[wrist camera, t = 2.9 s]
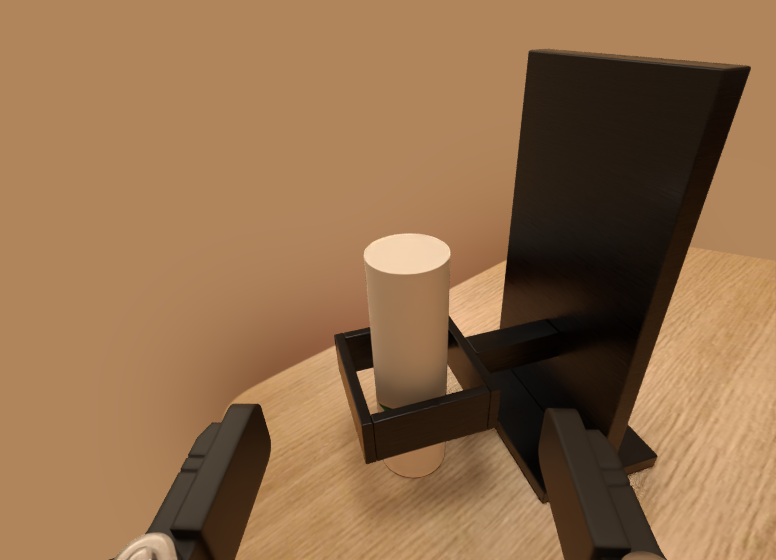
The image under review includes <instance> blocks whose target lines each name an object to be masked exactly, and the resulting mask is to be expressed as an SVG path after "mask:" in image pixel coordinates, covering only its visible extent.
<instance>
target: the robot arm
mask: <svg viewBox="0 0 776 560" xmlns="http://www.w3.org/2000/svg"><path fill="white" fill-rule="evenodd" d="M270 452H271V440H270V435H269V432H268V429H267V425H266V422H265V418H264V415H263V412H262V408H261V406H260V405H259V404H232V405H231V406H230V407H229V408H228V410H227V412H226V414H225V416H224V418H223V420H222V422H221V423H211V424H210V425H209V426H208V427H207V428H206V429H205V430H204V431H203V433H201V434H200V435H199V436H198V437H197V439H196V441H195V443H194V445H193V447H192V448H191V451H190V452H189V454H188V458H186V460H185V462H184V464H183V465H182V467H181V472H180V473H178V475H177V477H176V479H175V481H174V483H173V484H172V486H171V488H170V490H169V492H168V494H167V496H166V497H165V499H164V502H163V503H162V505H161V507H160V509H159V511H158V513H157V515H156V516H155V518H154V520H153V522H152V524H151V526H150V527H149V529H148V531H147V532H146V533H145V535H143V536H140V537H138V538H136V539H135V540H133V541H132V542H130V543H129V544H128V545H126V546H125V547H124V548H123V549H122V550H121V551H120V552H119V554H118V555H117V556H116V557H115V558H113V559H110V560H235V557H236V554H237V552H238V549H239V546H240V543H241V540H242V537H243V534H244V531H245V528H246V525H247V522H248V520H249V517H250V514H251V511H252V508H253V505H254V502H255V499H256V496H257V493H258V490H259V487H260V485H261V482H262V479H263V476H264V473H265V470H266V467H267V464H268V461H269V457H270ZM539 462H540V467H541V472H542V475H543V479H544V483H545V487H546V491H547V494H548V498H549V502H550V506H551V510H552V514H553V517H554V521H555V525H556V529H557V533H558V536H559V540H560V544H561V548H562V552H563V556H564V559H565V560H667V559H666V558H665V556H664V555H663V553H662V552H661V550H660V548H659V546H658V544H657V541H656V539H655V537H654V535H653V533H652V530H651V528H650V526H649V524H648V521H647V519H646V517H645V515H644V512H643V510H642V508H641V506H640V503H639V501H638V499H637V497H636V494H635V492H634V490H633V488H632V486H630V481H629V479H628V476H627V474H626V472H625V470H623V465H622V463H621V461H620V458H619V456H618V454H617V452H616V449H615V447H614V446H613V445H612V444H611V443H610V441H609V440H608V439H607V438H606V437H605V436H604V435H603V434H602V433H601V432H600V431H599V430H585V428H584V425H583V422H582V420H581V417H580V415H579V413H578V411H577V410H576V409H557V408H547V409H546V411H545V414H544V420H543V425H542V430H541V436H540V441H539Z"/></svg>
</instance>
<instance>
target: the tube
mask: <svg viewBox="0 0 776 560" xmlns="http://www.w3.org/2000/svg"><path fill="white" fill-rule="evenodd" d="M364 262H365V273H366V285H367V297H368V307H369V319H370V331H371V342H372V353H373V364H374V375H375V386H376V397H377V408H378V413H379V412H383V411H387V410H391V409H394V408H398V407H402V406H406V405H410V404H414V403H417V402H421V401H425V400H429V399H433V398H436V397H440V396H444V395H446V389H447V357H448V320H449V284H450V281H449V280H450V249H449V247H448V246H447V244H446V243H444V242H443V241H441V240H439V239H437V238H434V237H431V236H427V235H423V234H397V235H391V236H387V237H384V238H381V239H379V240H376V241H375V242H373V243H371V244H370V245H369V246H368V247H367V248H366V250H365V252H364ZM444 455H445V442H443V443H439V444H436V445H432V446H429V447H425V448H422V449H418V450H415V451H411V452H408V453H404V454H401V455H397V456H394V457H390V458H387V459H383V460H384V462H385V464H386V465H387V466H388V467H389V469H391V470H392V471H393V472H395V473H397V474H399V475H401V476H405V477H411V478H416V477H422V476H426V475H428V474H430V473H432V472H433V471H435V470H436V469H437V468H438V467H439V466H440V465H441V463H442V461H443V458H444Z"/></svg>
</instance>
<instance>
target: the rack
mask: <svg viewBox="0 0 776 560" xmlns="http://www.w3.org/2000/svg"><path fill="white" fill-rule="evenodd" d="M750 70H751V67H749V66H743V65H733V64H721V63H708V62H697V61H685V60H673V59H662V58H649V57H638V56H625V55H614V54H602V53H590V52H577V51H566V50H555V49H539V50H530V51H529V54H528V63H527V73H526V83H525V92H524V102H523V111H522V121H521V130H520V140H519V150H518V159H517V169H516V178H515V188H514V197H513V207H512V216H511V226H510V235H509V245H508V254H507V264H506V274H505V283H504V293H503V302H502V312H501V321H500V329H499V330H494V331H490V332H486V333H482V334H477V335H473V336H469V337H464V336H463V335H462V333H461V332H460V330H459V329H458V328H457V326H456V325H455V323H454V322H453V321H452V319H451V318H450V316H449V320H448V357H447V364H448V365H449V367H450V369H451V370H452V372H453V374H454V375H455V377H456V379H457V380H458V382H459V384H460V385H461V387H462V388H463V391H459V392H456V393H452V394H448V395H444V396H440V397H436V398H433V399H429V400H425V401H421V402H417V403H414V404H410V405H406V406H402V407H398V408H394V409H391V410H387V411H383V412H379V413H375V414H372V415H371V416H370V413H369V410H368V407H367V404H366V401H365V398H364V395H363V391H362V388H361V385H360V382H359V379H358V376H357V373H356V372H357V371H361V370H365V369H369V368H373V367H374V364H373V353H372V342H371V331H370V327H368V328H364V329H359V330H355V331H350V332H345V333H344V334H343V333H340V334H336V335H334V337H335V345H336V351H337V358H338V365H339V371H340V374H341V378H342V381H343V385H344V388H345V392H346V396H347V399H348V403H349V406H350V410H351V413H352V417H353V420H354V424H355V427H356V431H357V434H358V438H359V441H360V445H361V449H362V452H363V456H364V459H365V463H366V464H370V463H373V462H376V461H380V460H383V459H387V458H390V457H394V456H397V455H401V454H404V453H408V452H411V451H415V450H418V449H422V448H425V447H429V446H432V445H436V444H439V443H443V442H446V441H450V440H453V439H457V438H460V437H464V436H467V435H471V434H474V433H478V432H481V431H485V430H489V429H492V428H496V430H497V431H498V433H499V435H500V436H501V438H502V439H503V441H504V443H505V444H506V446H507V447H508V449H509V451H510V452H511V454H512V455H513V457H514V459H515V460H516V462H517V463H518V465H519V466H520V468H521V470H522V471H523V473H524V474H525V476H526V478H527V479H528V481H529V482H530V484H531V486H532V487H533V489H534V490H535V492H536V494H537V495H538V497H539V498H540V500H541V502H542V503H544V502H547V501H549V498H548V494H547V491H546V487H545V483H544V479H543V475H542V472H541V467H540V462H539V441H540V436H541V430H542V425H543V420H544V414H545V411H546V409H547V408H557V409H576V410H577V411H578V413H579V415H580V417H581V420H582V422H583V425H584V428H585V430H599V431H600V432H601V433H602V434H603V435H604V436H605V437H606V438H607V439H608V440H609V441H610V443H611V444H612V445H613V446H614V447H615V449H616V452H617V454H618V456H619V458H620V461H621V463H622V465H623V470H625V472H626V474H630V473H633V472H636V471H639V470H642V469H645V468H648V467H651V466H654V464H655V461H656V459H657V457H658V456H657V454H656V453H655V452H654V451H653V450H652V449H651V448H650V447H649V446H648V445H647V444H646V443H645V442H644V441H643V440H642V439H641V438H640V437H639V436H638V435H637V434H636V433H635V432H634V431H633V429H632V428H631V427H630V426H629V425H628V421H629V418H630V416H631V413H632V410H633V407H634V404H635V401H636V398H637V395H638V393H639V390H640V387H641V384H642V381H643V378H644V375H645V372H646V369H647V367H648V364H649V361H650V358H651V355H652V352H653V349H654V346H655V344H656V341H657V338H658V335H659V332H660V329H661V326H662V323H663V320H664V318H665V315H666V312H667V309H668V306H669V303H670V300H671V297H672V295H673V292H674V289H675V286H676V283H677V280H678V277H679V274H680V272H681V269H682V266H683V263H684V260H685V257H686V254H687V251H688V248H689V246H690V243H691V240H692V237H693V234H694V231H695V228H696V225H697V222H698V220H699V217H700V214H701V211H702V208H703V205H704V202H705V199H706V197H707V194H708V191H709V188H710V185H711V182H712V179H713V176H714V174H715V171H716V168H717V165H718V162H719V159H720V156H721V153H722V150H723V148H724V145H725V142H726V139H727V136H728V133H729V130H730V127H731V125H732V122H733V119H734V116H735V113H736V110H737V107H738V104H739V101H740V99H741V96H742V93H743V90H744V87H745V84H746V81H747V78H748V76H749V72H750Z"/></svg>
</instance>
